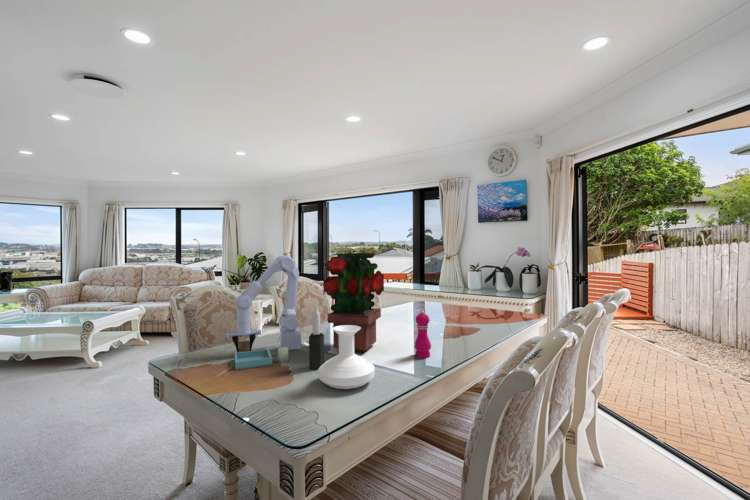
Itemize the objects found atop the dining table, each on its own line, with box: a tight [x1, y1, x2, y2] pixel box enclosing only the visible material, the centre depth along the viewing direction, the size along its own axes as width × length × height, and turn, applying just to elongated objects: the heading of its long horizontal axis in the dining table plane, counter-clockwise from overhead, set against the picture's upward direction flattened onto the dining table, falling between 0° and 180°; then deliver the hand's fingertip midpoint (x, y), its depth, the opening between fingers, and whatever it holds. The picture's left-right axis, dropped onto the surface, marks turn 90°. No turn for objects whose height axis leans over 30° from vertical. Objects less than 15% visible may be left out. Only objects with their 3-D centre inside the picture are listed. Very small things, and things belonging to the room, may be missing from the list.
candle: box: [308, 304, 325, 371], centre depth 140 cm, size 5×5×25 cm
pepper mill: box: [414, 309, 432, 359], centre depth 153 cm, size 7×7×20 cm
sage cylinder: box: [277, 347, 289, 363], centre depth 150 cm, size 4×4×5 cm
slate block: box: [264, 345, 276, 356], centre depth 158 cm, size 4×4×3 cm
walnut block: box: [238, 339, 250, 352], centre depth 157 cm, size 4×4×6 cm
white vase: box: [317, 325, 376, 390], centre depth 124 cm, size 20×20×19 cm
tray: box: [234, 348, 273, 371], centre depth 147 cm, size 14×14×3 cm
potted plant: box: [322, 252, 385, 354], centre depth 166 cm, size 22×22×45 cm
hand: (244, 352), depth 157 cm, fingers closed on walnut block, 4 cm apart
